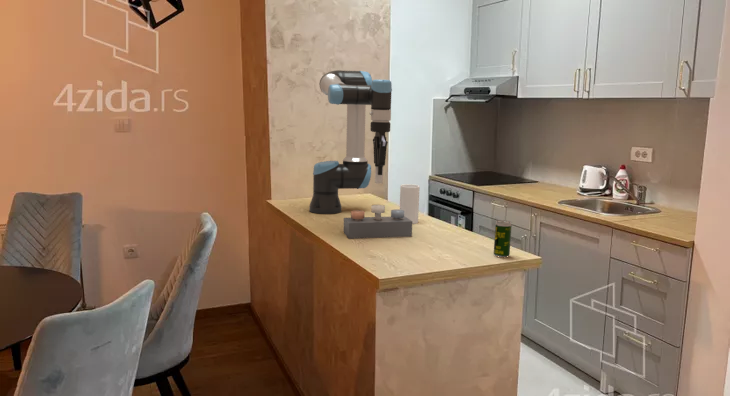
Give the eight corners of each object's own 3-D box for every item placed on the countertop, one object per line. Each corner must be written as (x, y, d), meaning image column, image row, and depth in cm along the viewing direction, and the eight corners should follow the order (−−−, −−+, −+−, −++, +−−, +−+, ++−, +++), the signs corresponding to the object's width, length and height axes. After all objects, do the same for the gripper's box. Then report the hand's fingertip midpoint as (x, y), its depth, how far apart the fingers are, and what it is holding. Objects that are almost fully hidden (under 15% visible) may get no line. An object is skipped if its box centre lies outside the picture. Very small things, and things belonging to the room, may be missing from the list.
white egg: (369, 223, 219) (370, 204, 218) (382, 222, 221) (382, 204, 219) (372, 226, 214) (373, 207, 213) (385, 225, 216) (386, 207, 214)
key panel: (343, 232, 220) (343, 217, 219) (404, 230, 226) (404, 216, 225) (348, 238, 210) (348, 223, 209) (411, 236, 216) (412, 221, 215)
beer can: (497, 253, 195) (500, 219, 193) (512, 256, 192) (514, 221, 190) (490, 256, 191) (492, 221, 189) (505, 259, 188) (507, 224, 186)
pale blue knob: (389, 227, 222) (389, 209, 220) (401, 227, 223) (402, 209, 221) (392, 230, 217) (393, 212, 215) (405, 230, 218) (406, 211, 216)
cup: (417, 224, 238) (418, 187, 235) (397, 223, 240) (399, 186, 237) (419, 220, 246) (420, 184, 243) (400, 219, 248) (401, 183, 245)
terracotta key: (349, 229, 218) (349, 210, 217) (362, 228, 219) (362, 210, 218) (352, 232, 213) (352, 213, 212) (365, 231, 214) (365, 212, 213)
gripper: (366, 120, 216) (365, 180, 220) (375, 121, 204) (373, 185, 208) (385, 120, 218) (383, 180, 222) (394, 122, 205) (392, 185, 210)
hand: (378, 183), depth 215 cm, fingers closed
